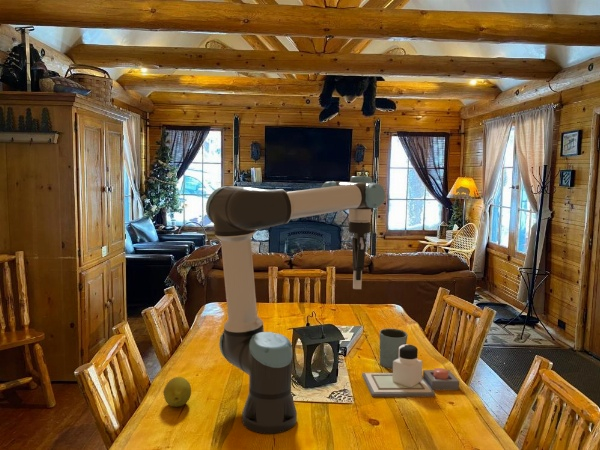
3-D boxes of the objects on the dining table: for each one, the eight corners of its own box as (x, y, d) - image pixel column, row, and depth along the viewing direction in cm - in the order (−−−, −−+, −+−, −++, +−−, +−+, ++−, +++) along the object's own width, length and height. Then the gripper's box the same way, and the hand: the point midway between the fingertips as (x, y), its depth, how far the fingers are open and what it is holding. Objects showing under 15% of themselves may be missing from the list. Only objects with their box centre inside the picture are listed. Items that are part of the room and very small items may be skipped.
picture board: (434, 396, 152) (435, 391, 152) (372, 396, 151) (372, 392, 151) (419, 375, 168) (419, 371, 168) (362, 375, 167) (362, 371, 167)
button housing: (458, 390, 157) (459, 381, 157) (431, 390, 157) (432, 381, 157) (448, 378, 166) (449, 370, 166) (422, 378, 166) (423, 370, 165)
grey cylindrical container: (388, 357, 185) (390, 326, 184) (411, 365, 178) (413, 333, 176) (372, 364, 178) (373, 332, 177) (395, 372, 171) (397, 339, 169)
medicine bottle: (422, 381, 160) (423, 346, 159) (411, 388, 155) (412, 351, 153) (403, 375, 165) (404, 341, 163) (392, 381, 159) (392, 346, 158)
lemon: (168, 396, 147) (168, 371, 147) (194, 397, 148) (194, 372, 147) (158, 414, 137) (158, 386, 136) (186, 414, 137) (186, 387, 136)
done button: (450, 385, 159) (450, 373, 159) (435, 385, 159) (436, 373, 159) (444, 379, 164) (445, 368, 164) (431, 379, 164) (431, 368, 163)
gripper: (374, 223, 160) (371, 293, 163) (366, 219, 173) (364, 284, 176) (352, 222, 160) (349, 293, 162) (345, 219, 173) (343, 284, 175)
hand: (357, 288), depth 169 cm, fingers closed
